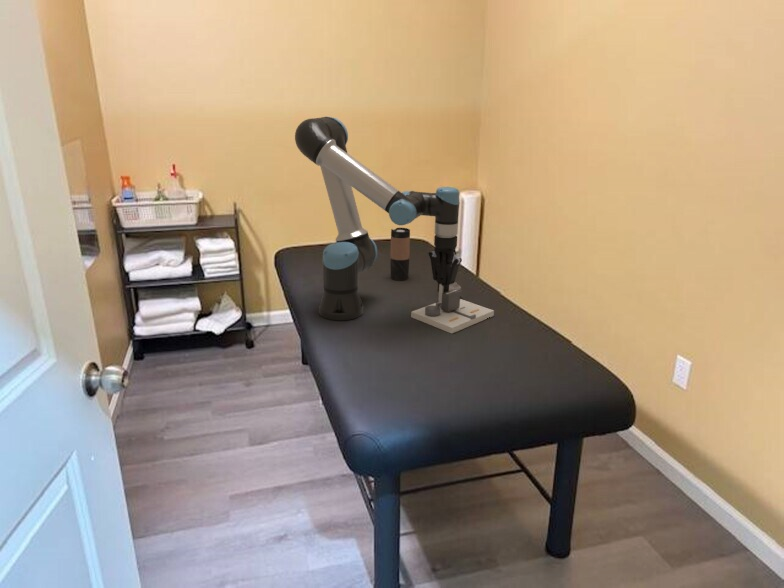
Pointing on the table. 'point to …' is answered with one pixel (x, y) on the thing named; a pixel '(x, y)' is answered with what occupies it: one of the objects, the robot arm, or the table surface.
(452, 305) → the fader
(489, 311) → the console
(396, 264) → the travel mug
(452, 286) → the stone
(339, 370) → the table surface
